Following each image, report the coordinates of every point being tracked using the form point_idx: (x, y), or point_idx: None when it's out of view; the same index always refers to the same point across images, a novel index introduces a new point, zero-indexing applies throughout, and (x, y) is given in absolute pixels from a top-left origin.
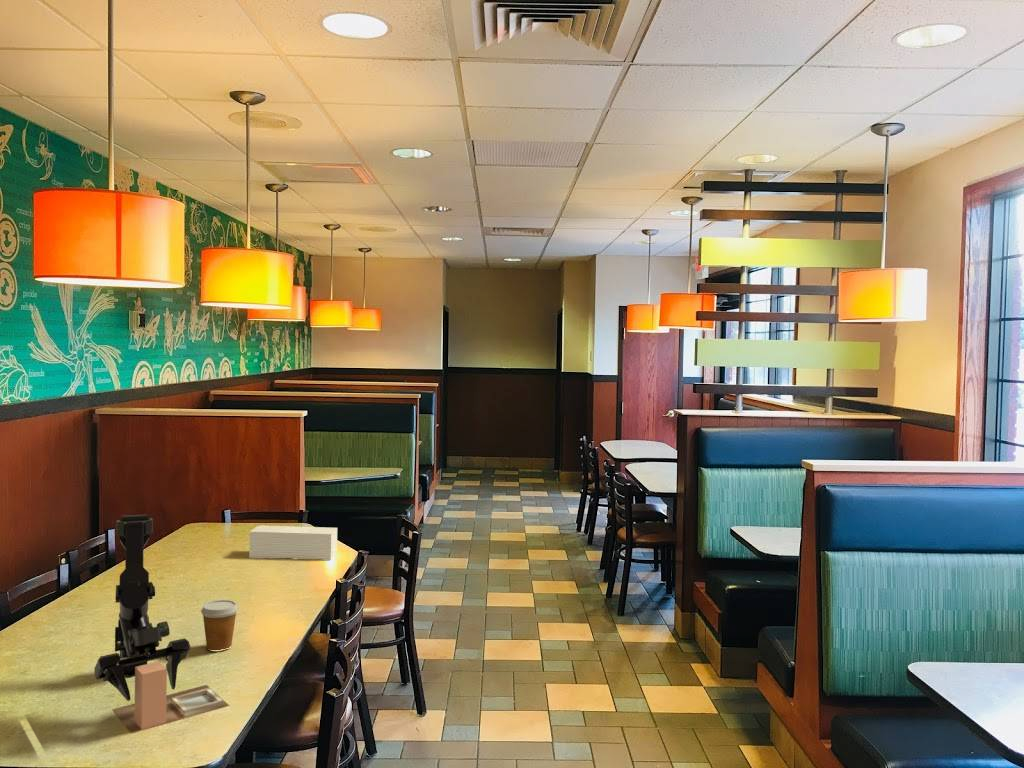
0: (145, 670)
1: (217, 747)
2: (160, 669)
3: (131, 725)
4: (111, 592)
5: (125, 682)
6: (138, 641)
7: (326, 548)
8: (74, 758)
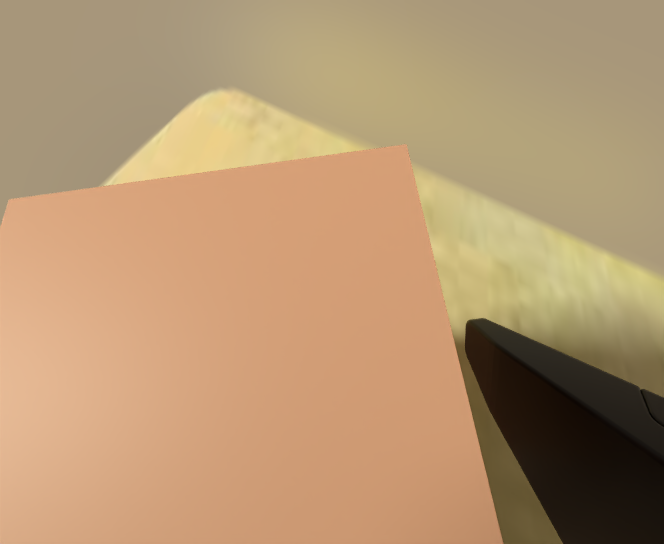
0: (324, 295)
1: (186, 133)
2: (96, 209)
3: None
4: None
5: (597, 400)
6: None
7: None
8: (628, 268)
